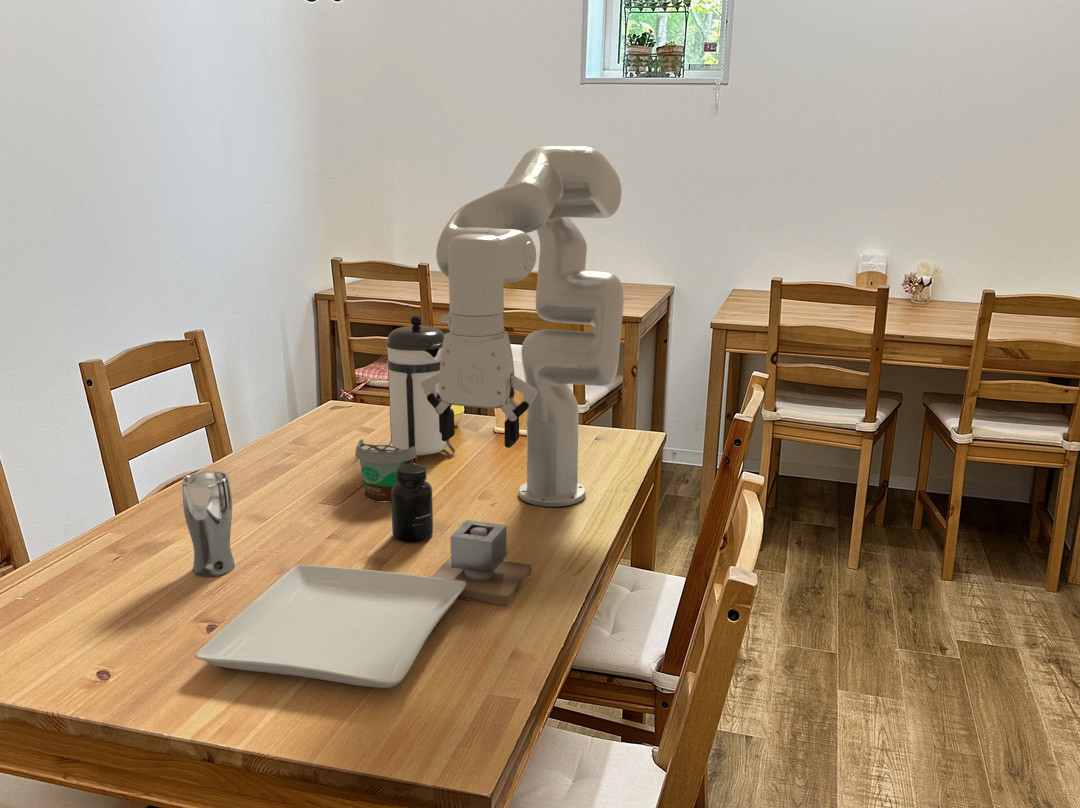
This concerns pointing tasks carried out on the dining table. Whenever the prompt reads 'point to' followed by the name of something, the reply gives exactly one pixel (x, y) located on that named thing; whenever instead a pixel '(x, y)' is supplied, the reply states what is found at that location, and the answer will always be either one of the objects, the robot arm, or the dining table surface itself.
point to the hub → (478, 547)
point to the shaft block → (488, 579)
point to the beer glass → (209, 521)
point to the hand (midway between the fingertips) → (479, 441)
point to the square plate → (335, 625)
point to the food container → (381, 468)
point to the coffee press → (414, 388)
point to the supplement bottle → (412, 505)
